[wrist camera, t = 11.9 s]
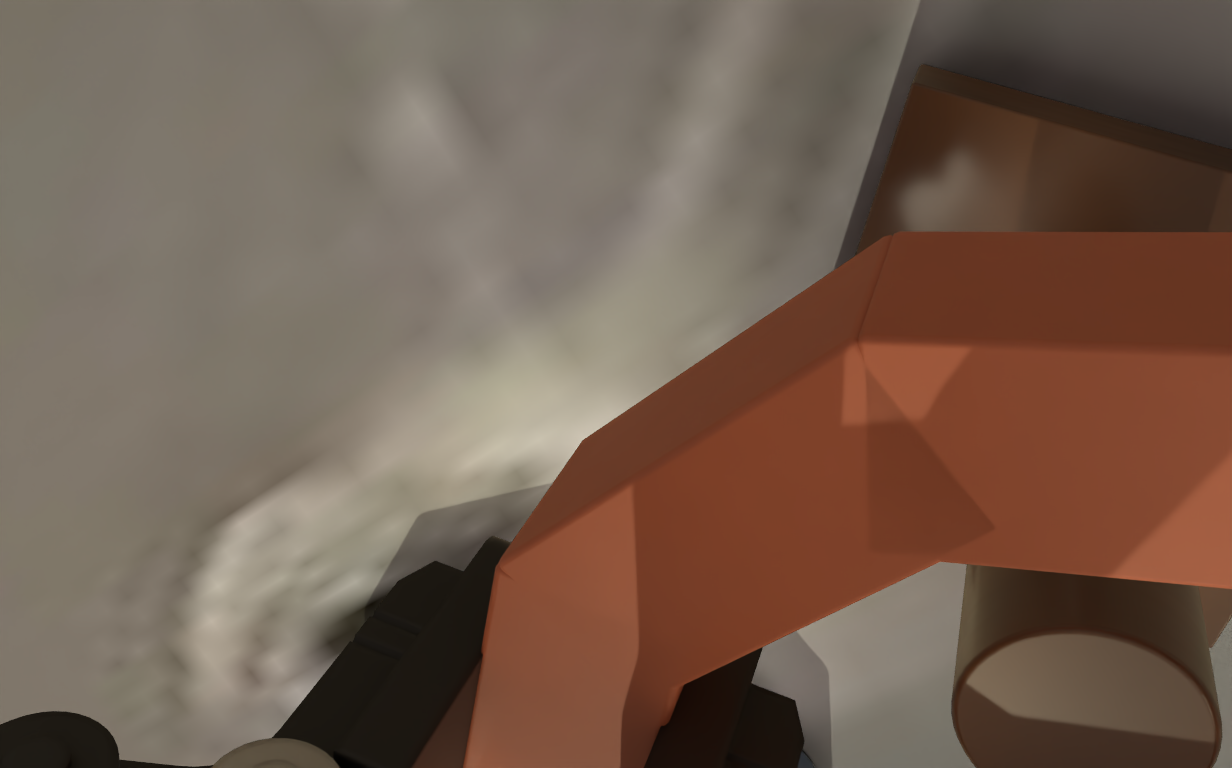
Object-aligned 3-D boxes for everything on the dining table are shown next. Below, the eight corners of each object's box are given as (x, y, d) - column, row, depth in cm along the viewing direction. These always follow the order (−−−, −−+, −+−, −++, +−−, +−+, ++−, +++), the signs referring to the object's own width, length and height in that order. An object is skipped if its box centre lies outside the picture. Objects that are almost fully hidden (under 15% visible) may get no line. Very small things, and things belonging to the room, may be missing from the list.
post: (789, 459, 26) (650, 822, 17) (921, 62, 21) (823, 281, 12) (1203, 603, 24) (1288, 1087, 15) (1447, 208, 19) (1768, 581, 11)
